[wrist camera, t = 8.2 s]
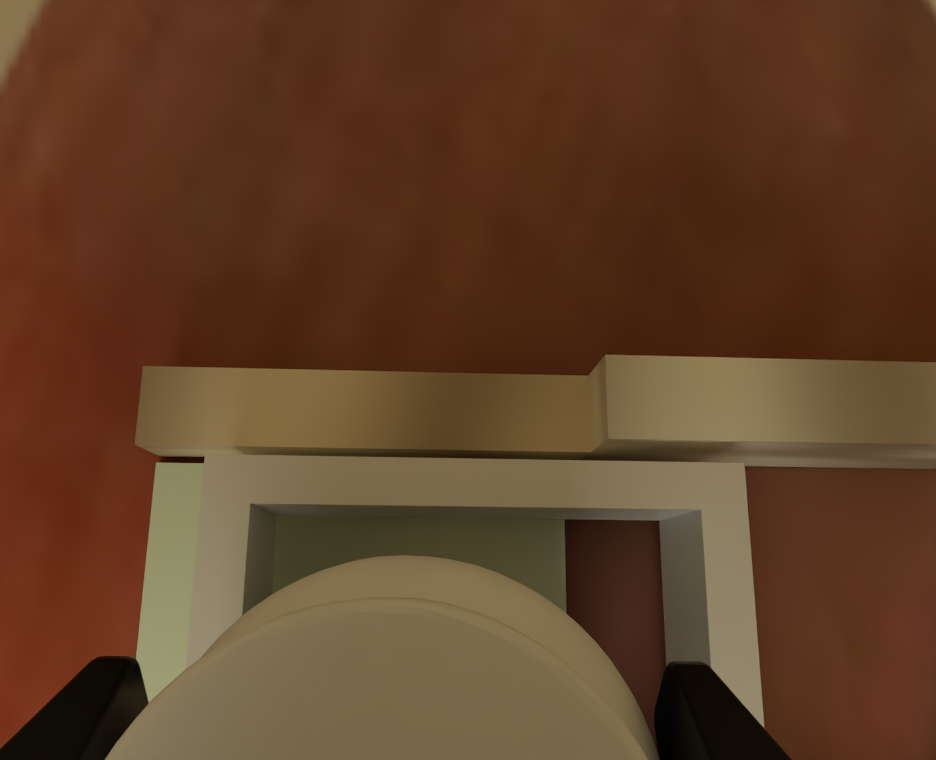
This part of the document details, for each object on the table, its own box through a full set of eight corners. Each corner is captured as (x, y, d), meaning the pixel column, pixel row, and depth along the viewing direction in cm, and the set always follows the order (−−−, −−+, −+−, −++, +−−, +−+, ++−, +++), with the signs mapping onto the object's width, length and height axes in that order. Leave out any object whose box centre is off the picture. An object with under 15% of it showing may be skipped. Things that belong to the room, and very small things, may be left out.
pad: (561, 470, 17) (563, 468, 17) (572, 1006, 14) (574, 1012, 14) (158, 464, 16) (156, 462, 16) (103, 1015, 14) (98, 1021, 14)
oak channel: (1433, 410, 18) (1626, 378, 15) (1628, 1088, 15) (1916, 1209, 12) (166, 384, 17) (113, 343, 14) (92, 1128, 14) (2, 1277, 11)
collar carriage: (696, 480, 16) (744, 462, 14) (727, 1004, 14) (791, 1092, 12) (238, 473, 16) (204, 454, 13) (195, 1014, 14) (147, 1107, 11)
